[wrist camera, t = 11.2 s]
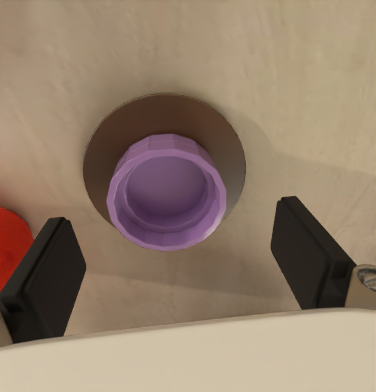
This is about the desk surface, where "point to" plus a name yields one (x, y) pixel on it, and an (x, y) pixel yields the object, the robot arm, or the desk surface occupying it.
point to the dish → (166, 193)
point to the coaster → (157, 125)
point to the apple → (12, 243)
